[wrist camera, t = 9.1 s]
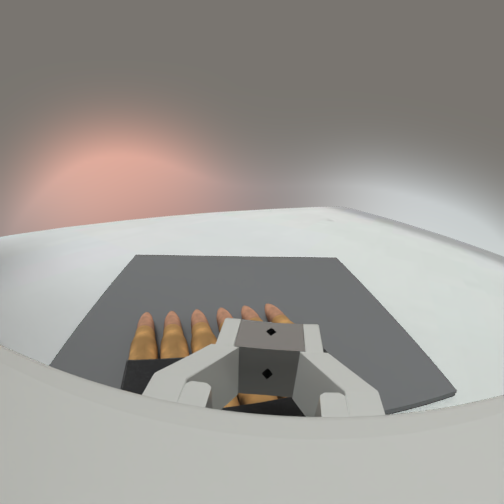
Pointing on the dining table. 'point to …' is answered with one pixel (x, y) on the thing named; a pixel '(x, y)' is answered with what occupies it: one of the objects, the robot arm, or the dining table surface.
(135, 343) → the ammunition clip
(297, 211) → the dining table surface
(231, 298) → the slate mat
